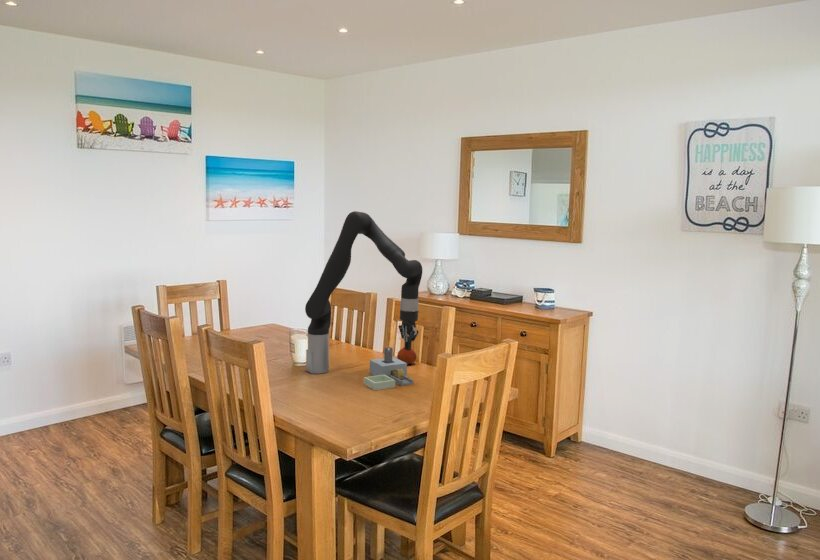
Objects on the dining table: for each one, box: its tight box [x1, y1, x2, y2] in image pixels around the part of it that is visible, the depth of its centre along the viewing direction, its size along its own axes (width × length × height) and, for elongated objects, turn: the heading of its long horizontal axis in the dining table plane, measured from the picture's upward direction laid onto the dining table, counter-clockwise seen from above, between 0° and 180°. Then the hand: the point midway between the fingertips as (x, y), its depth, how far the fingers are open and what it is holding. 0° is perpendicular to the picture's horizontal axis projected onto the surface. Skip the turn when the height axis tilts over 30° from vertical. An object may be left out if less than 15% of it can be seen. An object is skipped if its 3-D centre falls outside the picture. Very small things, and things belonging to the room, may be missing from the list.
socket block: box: [369, 356, 415, 387], centre depth 278 cm, size 23×12×6 cm, turn 30°
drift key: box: [391, 369, 404, 379], centre depth 277 cm, size 9×3×4 cm, turn 30°
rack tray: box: [363, 375, 396, 391], centre depth 267 cm, size 10×10×3 cm
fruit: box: [396, 347, 417, 365], centre depth 302 cm, size 9×9×8 cm
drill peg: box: [383, 346, 394, 363], centre depth 283 cm, size 4×4×12 cm
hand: (407, 350), depth 267 cm, fingers closed
